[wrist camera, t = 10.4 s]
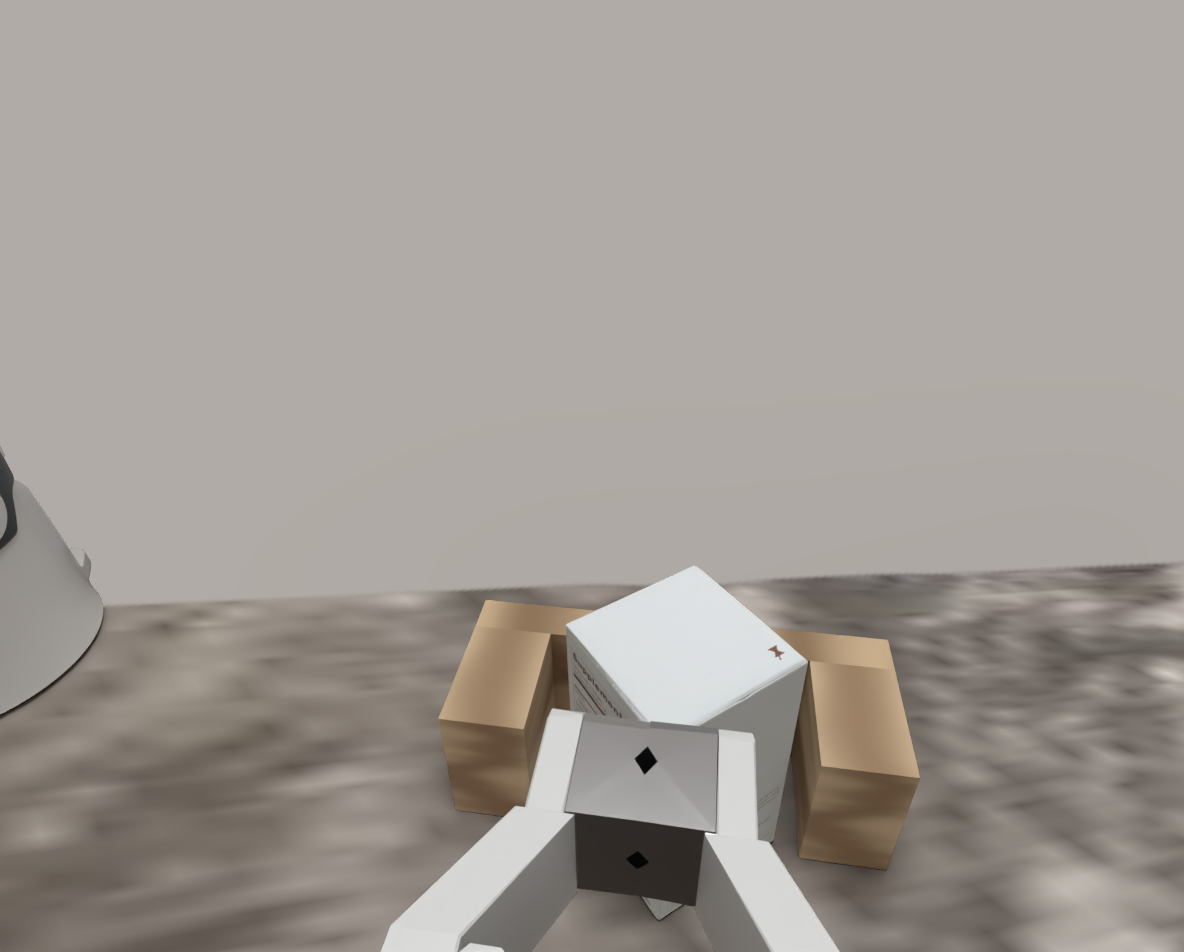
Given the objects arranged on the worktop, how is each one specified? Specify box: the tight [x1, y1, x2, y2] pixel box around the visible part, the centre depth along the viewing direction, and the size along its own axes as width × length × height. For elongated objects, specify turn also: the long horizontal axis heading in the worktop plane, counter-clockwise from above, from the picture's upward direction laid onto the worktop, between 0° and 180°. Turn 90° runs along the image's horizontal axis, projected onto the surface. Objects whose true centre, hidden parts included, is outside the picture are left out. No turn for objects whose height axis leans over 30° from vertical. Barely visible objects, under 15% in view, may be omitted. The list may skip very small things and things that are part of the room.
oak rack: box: [438, 600, 920, 870], centre depth 38 cm, size 21×8×7 cm, turn 81°
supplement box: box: [566, 566, 808, 920], centre depth 34 cm, size 7×7×13 cm
